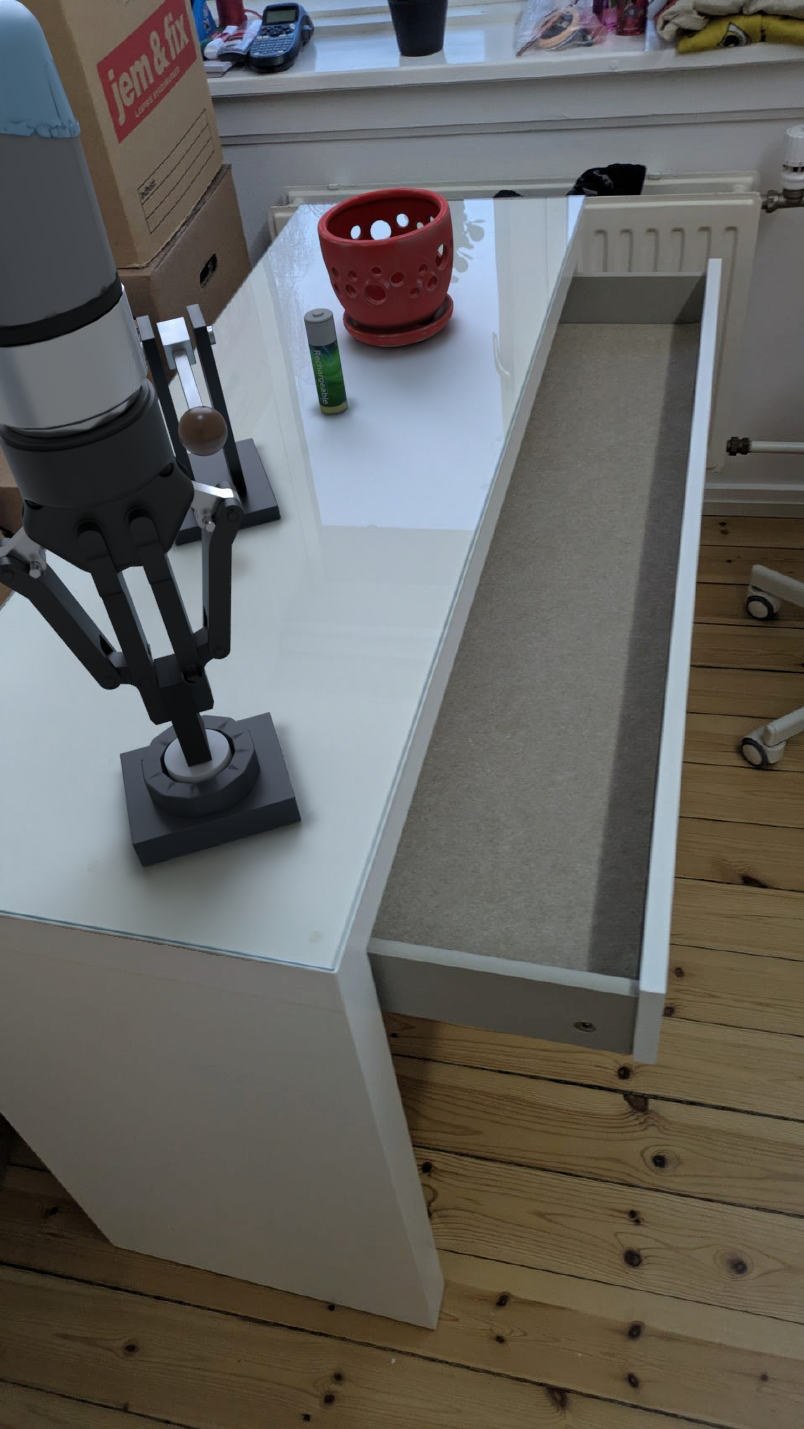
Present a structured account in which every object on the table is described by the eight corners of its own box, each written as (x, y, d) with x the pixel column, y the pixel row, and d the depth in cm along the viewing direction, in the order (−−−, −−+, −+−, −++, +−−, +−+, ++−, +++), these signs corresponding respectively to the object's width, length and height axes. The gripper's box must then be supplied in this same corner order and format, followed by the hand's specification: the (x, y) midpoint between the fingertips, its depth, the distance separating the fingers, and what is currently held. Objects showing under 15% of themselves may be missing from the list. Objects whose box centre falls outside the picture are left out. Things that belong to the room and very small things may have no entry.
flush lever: (236, 459, 81) (227, 423, 78) (188, 471, 81) (178, 436, 78) (199, 345, 88) (190, 308, 85) (155, 355, 88) (145, 318, 84)
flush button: (176, 803, 66) (168, 784, 65) (167, 758, 69) (160, 739, 68) (240, 784, 67) (233, 765, 66) (229, 741, 70) (223, 721, 68)
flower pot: (351, 302, 120) (334, 188, 112) (469, 300, 117) (460, 183, 109) (321, 359, 111) (300, 240, 103) (447, 358, 108) (437, 235, 100)
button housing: (142, 867, 66) (123, 825, 64) (129, 776, 72) (111, 734, 69) (301, 820, 68) (289, 777, 65) (276, 734, 73) (264, 691, 70)
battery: (315, 407, 104) (297, 312, 98) (339, 398, 105) (323, 302, 99) (328, 418, 103) (311, 322, 96) (353, 408, 103) (338, 312, 97)
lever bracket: (281, 518, 92) (240, 340, 81) (176, 545, 90) (120, 368, 79) (255, 450, 100) (215, 279, 89) (158, 474, 99) (106, 304, 88)
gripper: (197, 330, 54) (287, 680, 70) (-70, 394, 52) (86, 737, 69) (222, 399, 48) (313, 760, 65) (-75, 472, 47) (96, 823, 63)
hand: (197, 748), depth 67 cm, fingers closed
